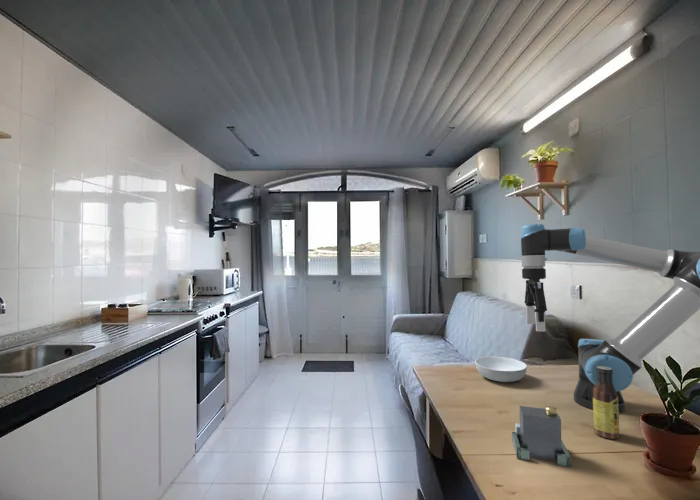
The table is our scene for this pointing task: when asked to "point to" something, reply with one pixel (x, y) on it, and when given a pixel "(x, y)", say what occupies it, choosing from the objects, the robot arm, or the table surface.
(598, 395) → the sauce bottle
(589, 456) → the table surface
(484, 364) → the serving bowl
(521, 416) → the grey box with knob
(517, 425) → the light grey rectangular block
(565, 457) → the socket
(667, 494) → the table surface
